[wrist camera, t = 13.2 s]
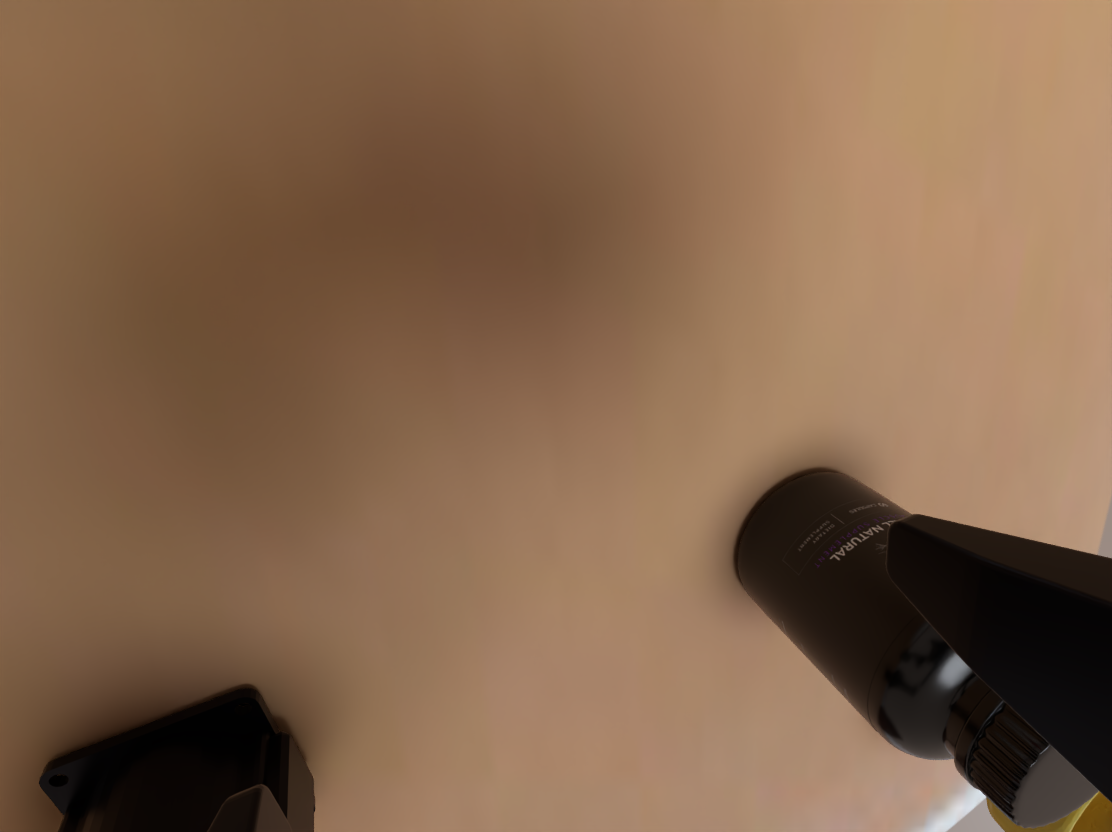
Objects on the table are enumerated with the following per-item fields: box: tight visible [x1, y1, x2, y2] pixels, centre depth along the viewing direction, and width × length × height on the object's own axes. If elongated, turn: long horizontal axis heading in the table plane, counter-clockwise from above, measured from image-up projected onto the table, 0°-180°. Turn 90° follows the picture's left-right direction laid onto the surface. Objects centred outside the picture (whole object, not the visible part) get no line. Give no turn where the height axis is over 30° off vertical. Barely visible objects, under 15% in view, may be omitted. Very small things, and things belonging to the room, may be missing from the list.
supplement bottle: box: [738, 472, 1099, 829], centre depth 23 cm, size 7×7×12 cm
